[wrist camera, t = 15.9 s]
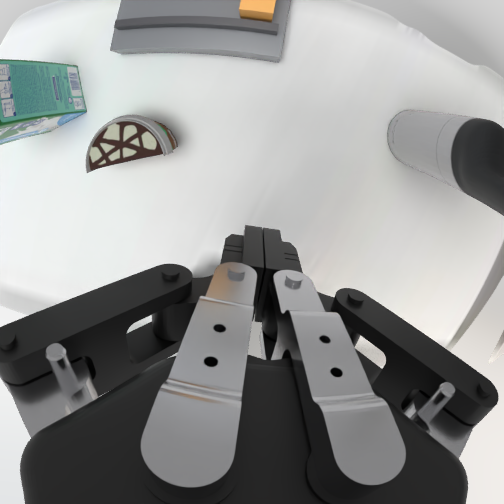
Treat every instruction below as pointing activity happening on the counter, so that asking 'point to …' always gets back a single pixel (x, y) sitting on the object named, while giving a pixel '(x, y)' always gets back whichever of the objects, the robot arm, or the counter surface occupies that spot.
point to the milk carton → (37, 97)
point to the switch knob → (257, 10)
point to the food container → (128, 141)
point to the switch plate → (198, 29)
